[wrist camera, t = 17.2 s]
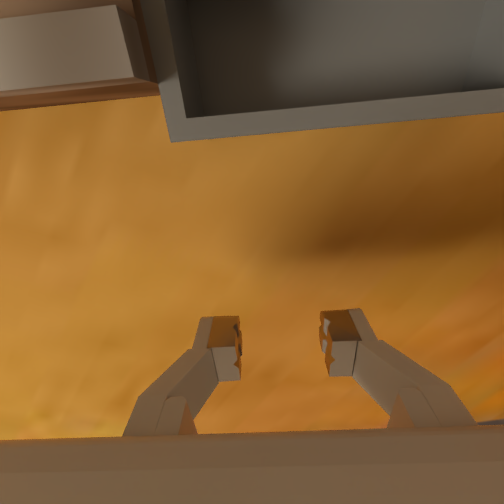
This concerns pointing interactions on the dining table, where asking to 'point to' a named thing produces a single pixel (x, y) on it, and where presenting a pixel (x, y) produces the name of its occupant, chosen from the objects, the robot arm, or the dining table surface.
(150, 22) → the bin
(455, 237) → the dining table surface
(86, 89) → the channel block
